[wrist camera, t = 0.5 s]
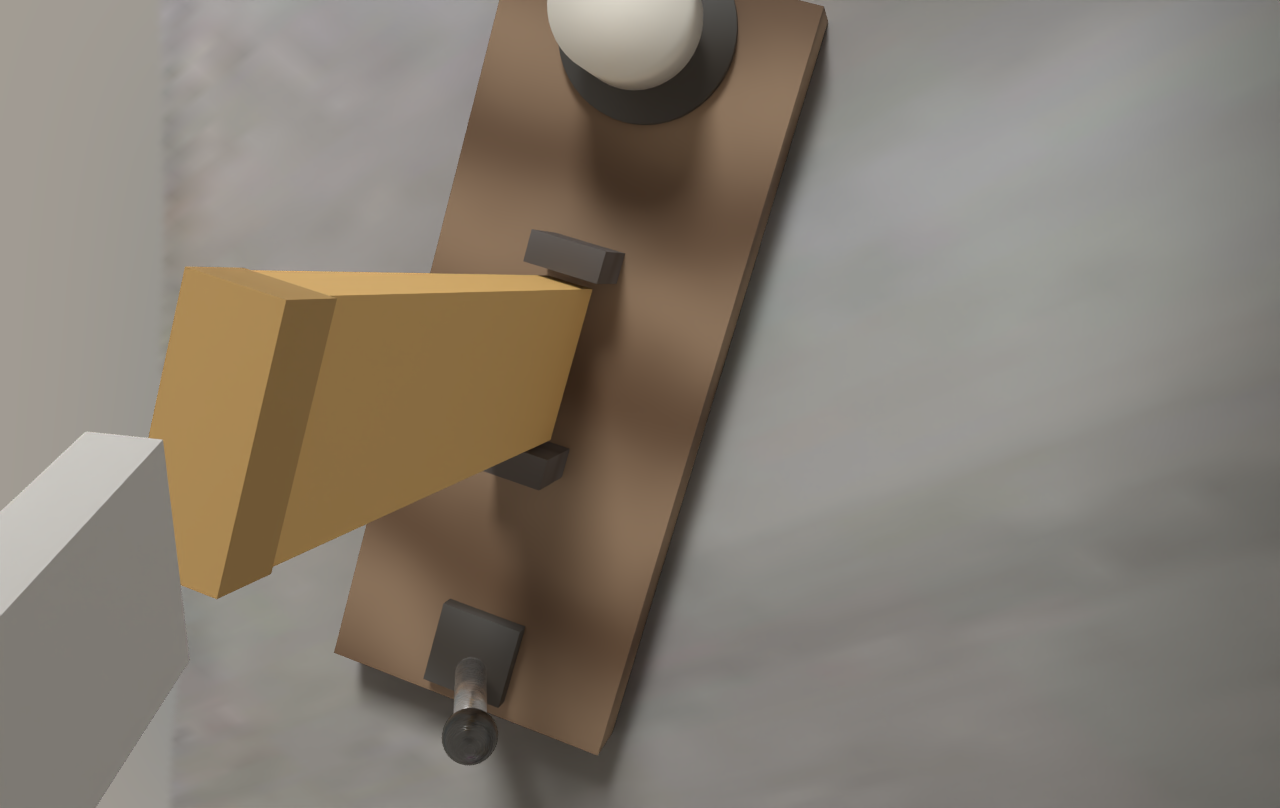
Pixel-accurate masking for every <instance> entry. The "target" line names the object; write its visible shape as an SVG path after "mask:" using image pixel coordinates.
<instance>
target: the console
mask: <svg viewBox="0 0 1280 808" xmlns="http://www.w3.org/2000/svg"><path fill="white" fill-rule="evenodd" d="M701 1H702V7H703V28H702V33H701V38H700V40H699V43H698V46H697V48H696V50H695V52H694V54H693V56H692V57H691V59H690V60H689V62H688V63H687V64H686V66H685V67H684V68H683V69H682V70H681V71H680V72H679V73H678V74H677V75H676V76H674V77H673V78H671V79H670V80H668V81H667V82H665V83H663V84H661V85H658V86H656V87H653V88H649V89H644V90H624V89H619V88H616V87H613V86H610V85H608V84H606V83H604V82H602V81H601V80H599V79H598V78H596V77H595V76H593V75H592V74H591V73H589V72H588V71H586V70H585V69H583V68H582V67H580V66H579V65H577V64H576V63H574V62H573V61H572V60H571V59H570V58H569V57H568V56H567V55H566V54H565V53H564V52H563V50H562V49H561V48H560V46H559V45H558V43H557V42H556V40H555V38H554V35H553V33H552V30H551V27H550V24H549V19H548V13H547V0H499V4H498V8H497V12H496V16H495V20H494V24H493V28H492V31H491V35H490V39H489V43H488V47H487V51H486V55H485V59H484V63H483V67H482V71H481V75H480V79H479V83H478V87H477V91H476V95H475V99H474V103H473V106H472V110H471V114H470V118H469V122H468V126H467V130H466V134H465V138H464V142H463V146H462V150H461V154H460V158H459V162H458V166H457V170H456V174H455V178H454V181H453V185H452V189H451V193H450V197H449V201H448V205H447V209H446V213H445V217H444V221H443V225H442V229H441V233H440V237H439V241H438V245H437V249H436V253H435V257H434V260H433V264H432V268H431V272H430V273H437V274H496V275H549V276H552V277H555V278H558V279H562V280H565V281H568V282H571V283H575V284H578V285H581V286H584V287H587V288H591V289H592V293H591V297H590V300H589V304H588V307H587V311H586V314H585V318H584V322H583V325H582V329H581V332H580V336H579V340H578V343H577V347H576V350H575V354H574V357H573V361H572V365H571V368H570V372H569V375H568V379H567V383H566V386H565V390H564V393H563V397H562V400H561V404H560V408H559V411H558V415H557V418H556V422H555V425H554V429H553V433H552V436H551V440H550V441H547V442H545V443H543V444H541V445H539V446H536V447H534V448H532V449H530V450H528V451H525V452H523V453H521V454H519V455H517V456H514V457H512V458H510V459H508V460H506V461H504V462H501V463H499V464H497V465H495V466H493V467H490V468H488V469H486V470H484V471H482V472H479V473H477V474H475V475H473V476H471V477H468V478H466V479H464V480H462V481H460V482H457V483H455V484H453V485H451V486H449V487H447V488H444V489H442V490H440V491H438V492H436V493H433V494H431V495H429V496H427V497H425V498H422V499H420V500H418V501H416V502H414V503H411V504H409V505H407V506H405V507H403V508H400V509H398V510H396V511H394V512H392V513H390V514H387V515H385V516H383V517H381V518H379V519H376V520H374V521H372V522H370V523H368V524H367V525H366V529H365V533H364V537H363V541H362V545H361V549H360V553H359V557H358V561H357V564H356V568H355V572H354V576H353V580H352V584H351V588H350V592H349V596H348V600H347V604H346V608H345V612H344V616H343V620H342V624H341V628H340V632H339V636H338V639H337V643H336V647H335V651H334V653H337V654H339V655H342V656H344V657H347V658H349V659H352V660H354V661H357V662H360V663H362V664H365V665H367V666H370V667H372V668H375V669H377V670H380V671H383V672H385V673H388V674H390V675H393V676H395V677H398V678H400V679H403V680H406V681H408V682H411V683H413V684H416V685H418V686H421V687H423V688H426V689H429V690H431V691H434V692H436V693H439V694H441V695H444V696H446V697H449V698H452V699H454V687H455V670H456V667H457V665H458V664H459V663H460V662H461V661H462V660H463V659H465V658H468V657H474V658H477V659H479V660H480V661H482V663H483V664H484V665H485V668H486V687H487V713H490V714H492V715H495V716H498V717H500V718H503V719H505V720H508V721H510V722H513V723H515V724H518V725H521V726H523V727H526V728H528V729H531V730H533V731H536V732H538V733H541V734H544V735H546V736H549V737H551V738H554V739H556V740H559V741H561V742H564V743H567V744H569V745H572V746H574V747H577V748H579V749H582V750H584V751H587V752H590V753H592V754H595V755H597V756H598V754H599V753H600V751H601V749H602V748H603V746H604V745H605V743H606V742H607V740H608V738H609V737H610V735H611V734H612V732H613V729H614V725H615V722H616V719H617V715H618V712H619V709H620V706H621V702H622V699H623V696H624V692H625V689H626V686H627V682H628V679H629V676H630V673H631V669H632V666H633V663H634V659H635V656H636V653H637V650H638V646H639V643H640V640H641V636H642V633H643V630H644V626H645V623H646V620H647V617H648V613H649V610H650V607H651V603H652V600H653V597H654V593H655V590H656V587H657V584H658V580H659V577H660V574H661V570H662V567H663V564H664V561H665V557H666V554H667V551H668V547H669V544H670V541H671V537H672V534H673V531H674V528H675V524H676V521H677V518H678V514H679V511H680V508H681V504H682V501H683V498H684V495H685V491H686V488H687V485H688V481H689V478H690V475H691V472H692V468H693V465H694V462H695V458H696V455H697V452H698V448H699V445H700V442H701V439H702V435H703V432H704V429H705V425H706V422H707V419H708V415H709V412H710V409H711V406H712V402H713V399H714V396H715V392H716V389H717V386H718V383H719V379H720V376H721V373H722V369H723V366H724V363H725V359H726V356H727V353H728V350H729V346H730V343H731V340H732V336H733V333H734V330H735V327H736V323H737V320H738V317H739V313H740V310H741V307H742V303H743V300H744V297H745V294H746V290H747V287H748V284H749V280H750V277H751V274H752V270H753V267H754V264H755V261H756V257H757V254H758V251H759V247H760V244H761V241H762V238H763V234H764V231H765V228H766V224H767V221H768V218H769V214H770V211H771V208H772V205H773V201H774V198H775V195H776V191H777V188H778V185H779V181H780V178H781V175H782V172H783V168H784V165H785V162H786V158H787V155H788V152H789V149H790V145H791V142H792V139H793V135H794V132H795V129H796V125H797V122H798V119H799V116H800V112H801V109H802V106H803V102H804V99H805V96H806V92H807V89H808V86H809V83H810V79H811V76H812V73H813V69H814V66H815V63H816V60H817V56H818V53H819V50H820V46H821V43H822V40H823V36H824V33H825V30H826V27H827V23H828V20H827V16H826V12H825V9H824V6H820V5H816V4H812V3H808V2H804V1H800V0H701Z"/></svg>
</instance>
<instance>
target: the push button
mask: <svg viewBox="0 0 1280 808" xmlns="http://www.w3.org/2000/svg"><path fill="white" fill-rule="evenodd" d="M547 13H548V19H549V24H550V27H551V30H552V33H553V35H554V38H555V40H556V42H557V43H558V45H559V46H560V48H561V49H562V50H563V52H564V53H565V54H566V55H567V56H568V57H569V58H570V59H571V60H572V61H573V62H574V63H576V64H577V65H579V66H580V67H582V68H583V69H585V70H586V71H588V72H589V73H591V74H592V75H593V76H595V77H596V78H598V79H599V80H601V81H602V82H604V83H606V84H608V85H610V86H613V87H616V88H619V89H624V90H644V89H649V88H653V87H656V86H658V85H661V84H663V83H665V82H667V81H668V80H670V79H671V78H673V77H674V76H676V75H677V74H678V73H679V72H680V71H681V70H682V69H683V68H684V67H685V66H686V64H687V63H688V62H689V60H690V59H691V57H692V56H693V54H694V52H695V50H696V48H697V46H698V43H699V40H700V38H701V33H702V28H703V7H702V1H701V0H547Z"/></svg>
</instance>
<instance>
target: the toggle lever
mask: <svg viewBox="0 0 1280 808" xmlns="http://www.w3.org/2000/svg"><path fill="white" fill-rule="evenodd" d="M497 740H498V731H497V726H496V724H495V722H494V720H493V719H492V717H491V716H490V715H489V714H488V713H487V687H486V668H485V665H484V664H483V663H482V661H480V660H479V659H477V658H474V657H468V658H465V659H463V660H462V661H461V662H460V663H459V664H458V665H457V667H456V670H455V687H454V712H453V715H452V716H451V717H450V718H449V719H448V720H447V722H446V724H445V726H444V728H443V732H442V744H443V747H444V750H445V752H446V753H447V755H448V756H449V757H450V758H451V759H452V760H453V761H455V762H457V763H459V764H462V765H475V764H479V763H481V762H483V761H484V760H486V759H487V758H488V757H489V756H490V755H491V754H492V752H493V751H494V749H495V747H496V744H497Z"/></svg>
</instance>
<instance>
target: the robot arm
mask: <svg viewBox="0 0 1280 808" xmlns="http://www.w3.org/2000/svg"><path fill="white" fill-rule="evenodd" d="M189 661H190V657H189V649H188V641H187V632H186V624H185V616H184V608H183V600H182V592H181V583H180V575H179V567H178V559H177V551H176V542H175V534H174V526H173V518H172V510H171V502H170V493H169V485H168V477H167V469H166V461H165V452H164V444H163V440H162V439H152V438H142V437H133V436H124V435H114V434H105V433H94V432H85V433H84V434H82V435H81V436H80V437H79V438H78V439H77V440H76V441H75V442H74V443H73V444H72V445H71V446H70V447H69V448H68V449H66V451H64V452H63V453H62V454H61V455H60V456H59V457H58V458H57V459H56V460H55V461H54V462H53V463H52V464H50V465H49V466H48V467H47V468H46V469H45V470H44V471H43V472H42V473H41V474H40V475H39V476H38V477H37V478H36V479H35V480H33V481H32V482H31V483H30V485H28V486H27V487H26V488H25V489H24V490H23V491H22V492H21V493H20V494H19V495H18V496H16V497H15V498H14V499H13V500H12V501H11V502H10V503H9V504H8V505H7V506H6V507H5V508H4V509H3V510H2V511H0V808H96V806H97V804H98V803H99V801H100V800H101V798H102V797H103V795H104V794H105V792H106V791H107V789H108V787H109V786H110V784H111V783H112V781H113V779H114V778H115V776H116V775H117V773H118V772H119V770H120V769H121V767H122V766H123V764H124V762H125V761H126V759H127V758H128V756H129V755H130V753H131V751H132V750H133V748H134V747H135V745H136V744H137V742H138V741H139V739H140V737H141V736H142V734H143V733H144V731H145V730H146V728H147V726H148V725H149V723H150V722H151V720H152V719H153V717H154V715H155V714H156V712H157V711H158V709H159V707H160V706H161V704H162V703H163V701H164V700H165V698H166V697H167V695H168V694H169V692H170V691H171V689H172V687H173V686H174V684H175V683H176V681H177V680H178V678H179V676H180V675H181V673H182V672H183V670H184V669H185V667H186V666H187V664H188V662H189Z"/></svg>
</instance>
